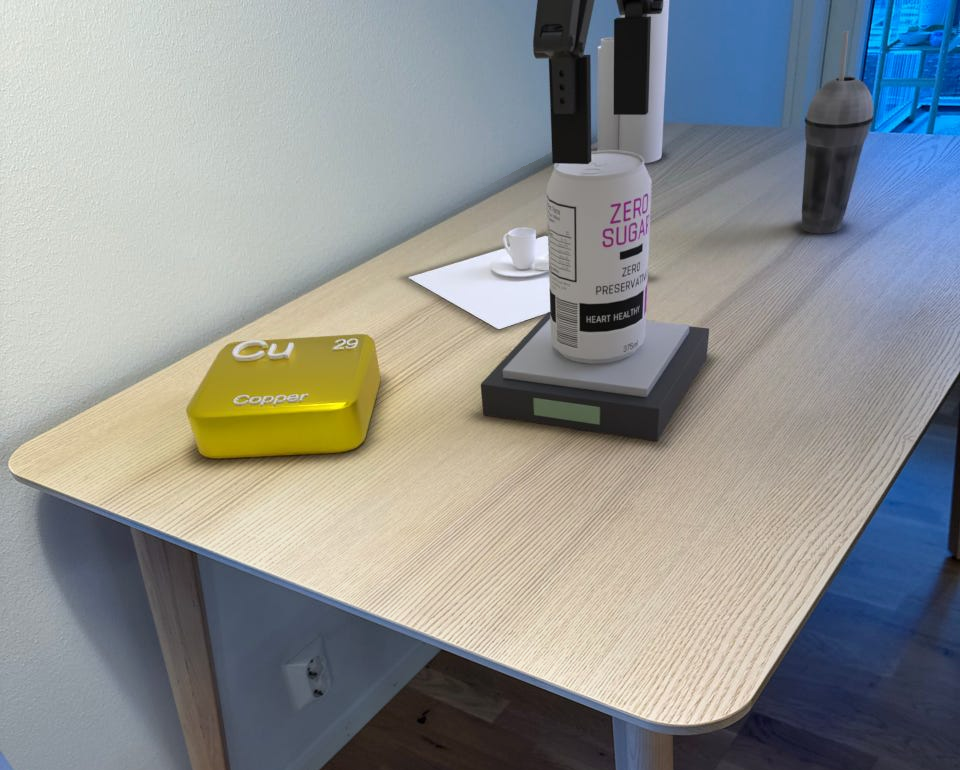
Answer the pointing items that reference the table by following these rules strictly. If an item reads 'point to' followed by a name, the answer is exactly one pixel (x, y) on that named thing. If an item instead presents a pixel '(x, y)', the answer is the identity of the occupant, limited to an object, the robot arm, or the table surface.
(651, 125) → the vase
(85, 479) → the table surface
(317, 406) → the element tile
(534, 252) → the teacup and saucer
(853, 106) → the beverage cup
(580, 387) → the scale
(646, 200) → the white drink can
